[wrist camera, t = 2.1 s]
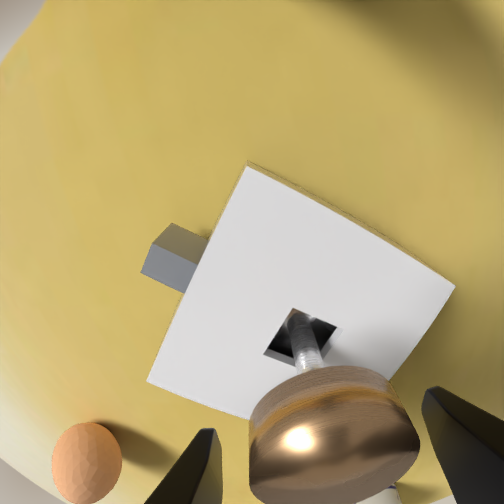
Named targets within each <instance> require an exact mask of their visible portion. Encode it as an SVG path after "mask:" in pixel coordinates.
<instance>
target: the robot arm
mask: <svg viewBox="0 0 504 504" xmlns="http://www.w3.org/2000/svg"><path fill="white" fill-rule="evenodd" d="M421 410H422V415H423V418H424V421H425V424H426V427H427V430H428V433H429V436H430V439H431V443H432V446H433V449H434V451H435V454H436V456H437V458H438V461H439V463H440V465H441V467H442V470H443V472H444V474H445V476H446V479H447V481H448V483H449V486H450V488H451V490H452V493H453V495H454V498H455V500H456V503H457V504H504V421H503V420H501V419H499V418H497V417H495V416H493V415H491V414H490V413H488V412H486V411H484V410H482V409H480V408H478V407H477V406H475V405H473V404H471V403H469V402H467V401H465V400H464V399H462V398H460V397H458V396H456V395H454V394H453V393H451V392H449V391H447V390H445V389H444V388H442V387H440V386H435V387H432V388H429V389H427V390H426V391H425V395H424V399H423V403H422V408H421ZM222 495H223V480H222V449H221V444H220V441H219V438H218V435H217V433H216V430H215V429H214V428H203V429H200V430H199V432H198V433H197V434H196V436H195V437H194V439H193V440H192V441H191V443H190V444H189V445H188V447H187V448H186V449H185V451H184V452H183V453H182V455H181V456H180V458H179V459H178V460H177V462H176V463H175V464H174V465H173V467H172V468H171V469H170V471H169V472H168V473H167V475H166V476H165V477H164V479H163V480H162V481H161V482H160V484H159V485H158V486H157V488H156V489H155V490H154V491H153V493H152V494H151V495H150V497H149V498H148V499H147V500H146V502H145V503H144V504H222Z"/></svg>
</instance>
